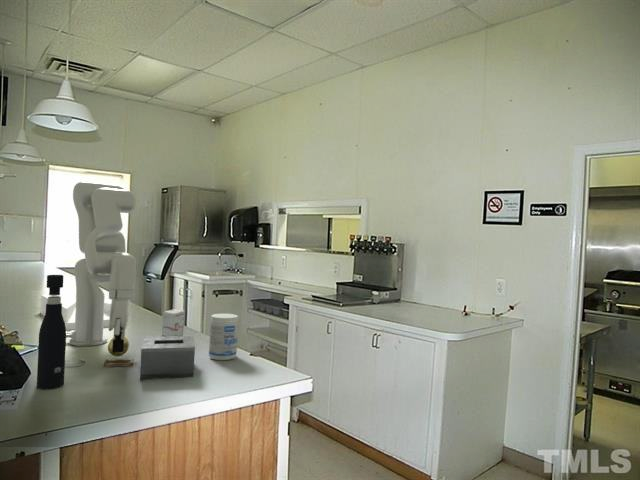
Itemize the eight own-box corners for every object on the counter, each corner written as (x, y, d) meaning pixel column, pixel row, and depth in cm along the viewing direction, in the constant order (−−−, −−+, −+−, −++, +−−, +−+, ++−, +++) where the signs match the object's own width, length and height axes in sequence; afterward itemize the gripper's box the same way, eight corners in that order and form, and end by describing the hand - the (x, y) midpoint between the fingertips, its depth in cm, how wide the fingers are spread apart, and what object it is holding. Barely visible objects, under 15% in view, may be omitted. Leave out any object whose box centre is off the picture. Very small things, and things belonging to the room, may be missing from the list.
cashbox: (139, 379, 129) (141, 348, 129) (143, 364, 144) (145, 336, 144) (193, 377, 134) (194, 347, 134) (192, 362, 148) (193, 335, 148)
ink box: (172, 343, 172) (174, 313, 171) (160, 342, 173) (162, 312, 172) (183, 338, 180) (185, 309, 180) (172, 337, 181) (173, 308, 181)
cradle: (103, 366, 139) (103, 363, 139) (105, 362, 144) (105, 359, 144) (132, 365, 142) (132, 362, 142) (133, 361, 146) (133, 358, 146)
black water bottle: (44, 381, 124) (49, 273, 124) (68, 381, 125) (73, 274, 124) (31, 389, 118) (36, 276, 117) (56, 389, 118) (61, 277, 118)
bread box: (39, 314, 216) (40, 294, 216) (89, 310, 231) (90, 292, 231) (65, 331, 183) (66, 308, 183) (120, 326, 199) (121, 305, 198)
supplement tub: (227, 362, 151) (229, 319, 150) (203, 358, 153) (205, 316, 153) (241, 355, 160) (243, 314, 160) (217, 352, 163) (219, 312, 162)
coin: (126, 357, 143) (129, 338, 143) (106, 355, 141) (109, 337, 141) (127, 354, 146) (130, 336, 146) (107, 353, 144) (110, 335, 144)
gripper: (112, 289, 149) (109, 343, 150) (105, 298, 134) (101, 358, 135) (136, 289, 152) (133, 343, 152) (131, 298, 136) (128, 358, 137)
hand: (118, 349), depth 144 cm, fingers closed on coin, 2 cm apart
